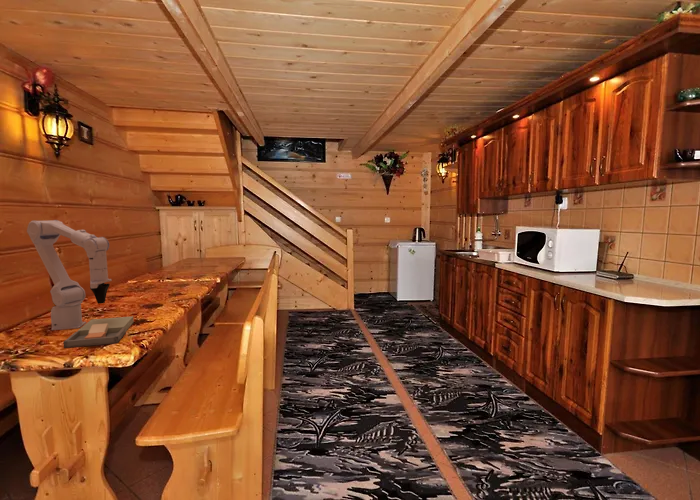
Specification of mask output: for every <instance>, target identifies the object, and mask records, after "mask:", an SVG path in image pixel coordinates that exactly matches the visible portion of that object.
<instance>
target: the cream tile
mask: <svg viewBox="0 0 700 500" xmlns="http://www.w3.org/2000/svg"><path fill="white" fill-rule="evenodd" d="M108 328H109V327H108V323H105V324H93V325H92V326H91V328H90V330H89V333H100V332H106V333H107V331H108ZM89 333H88V334H89Z"/></svg>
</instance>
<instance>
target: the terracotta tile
mask: <svg viewBox="0 0 700 500" xmlns="http://www.w3.org/2000/svg"><path fill="white" fill-rule="evenodd" d="M102 337H106V332H100V333H89V334H88V335H87V336H86V337H85V339H90V338H102Z"/></svg>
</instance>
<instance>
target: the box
mask: <svg viewBox="0 0 700 500" xmlns="http://www.w3.org/2000/svg"><path fill="white" fill-rule="evenodd" d="M126 333H127V331H126V329H125V328H122V329H121V330H120V331H119V332H117V333H106V337H102V338H90V339H85V337H86V336H87V335H81V336H79V332H77V331H75V332H73V333H72V334H71V335H70V336H69V337H68V338H66V339H64V340H63V349H68V348H70V349H71V348H81V347H89V346H101V345H110V344H118V343H119V342H120V341H121V340H122V339H123V337H124V336H125V335H126Z"/></svg>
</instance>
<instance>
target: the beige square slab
mask: <svg viewBox="0 0 700 500" xmlns="http://www.w3.org/2000/svg"><path fill="white" fill-rule="evenodd" d="M134 322H135V321H134V316H133V315H132V316H122V317H121V316H120V317H118V316H117V317H107V318H106V317H105V318H93V319H90V320H89V321H87V322H86V323H85V324H84V325H83V326H81V327H80V328H78V330H77V331H76V332H79V336H81V335H88V333H89V330H90V328H91V326H92V325H93V324H105V323H108V327H109V328H108V331H107V333H117V332H119V331H120V330H121V329H122V328H125V329H126V332H127V331H128V330H129V328H130V327H131V326H132V325H133V324H134Z"/></svg>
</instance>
